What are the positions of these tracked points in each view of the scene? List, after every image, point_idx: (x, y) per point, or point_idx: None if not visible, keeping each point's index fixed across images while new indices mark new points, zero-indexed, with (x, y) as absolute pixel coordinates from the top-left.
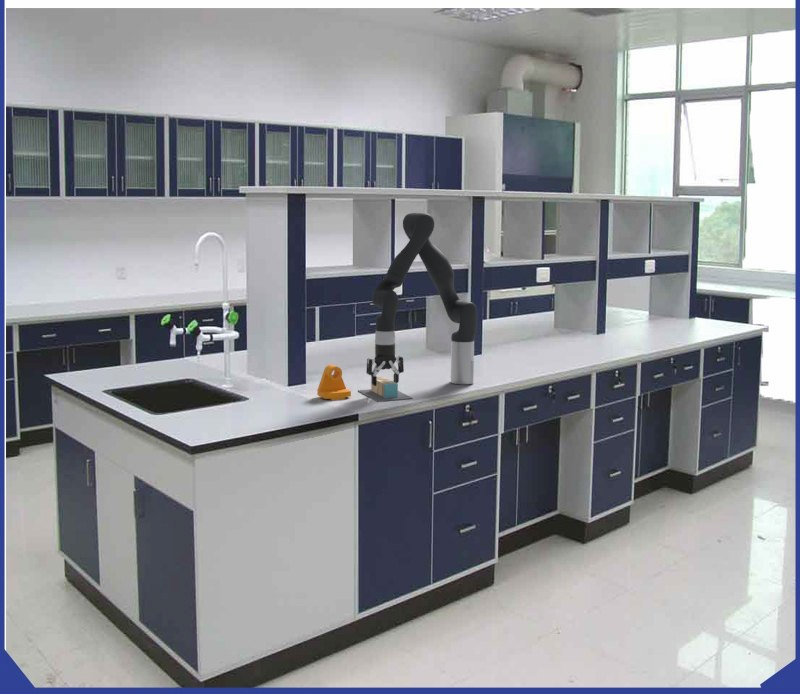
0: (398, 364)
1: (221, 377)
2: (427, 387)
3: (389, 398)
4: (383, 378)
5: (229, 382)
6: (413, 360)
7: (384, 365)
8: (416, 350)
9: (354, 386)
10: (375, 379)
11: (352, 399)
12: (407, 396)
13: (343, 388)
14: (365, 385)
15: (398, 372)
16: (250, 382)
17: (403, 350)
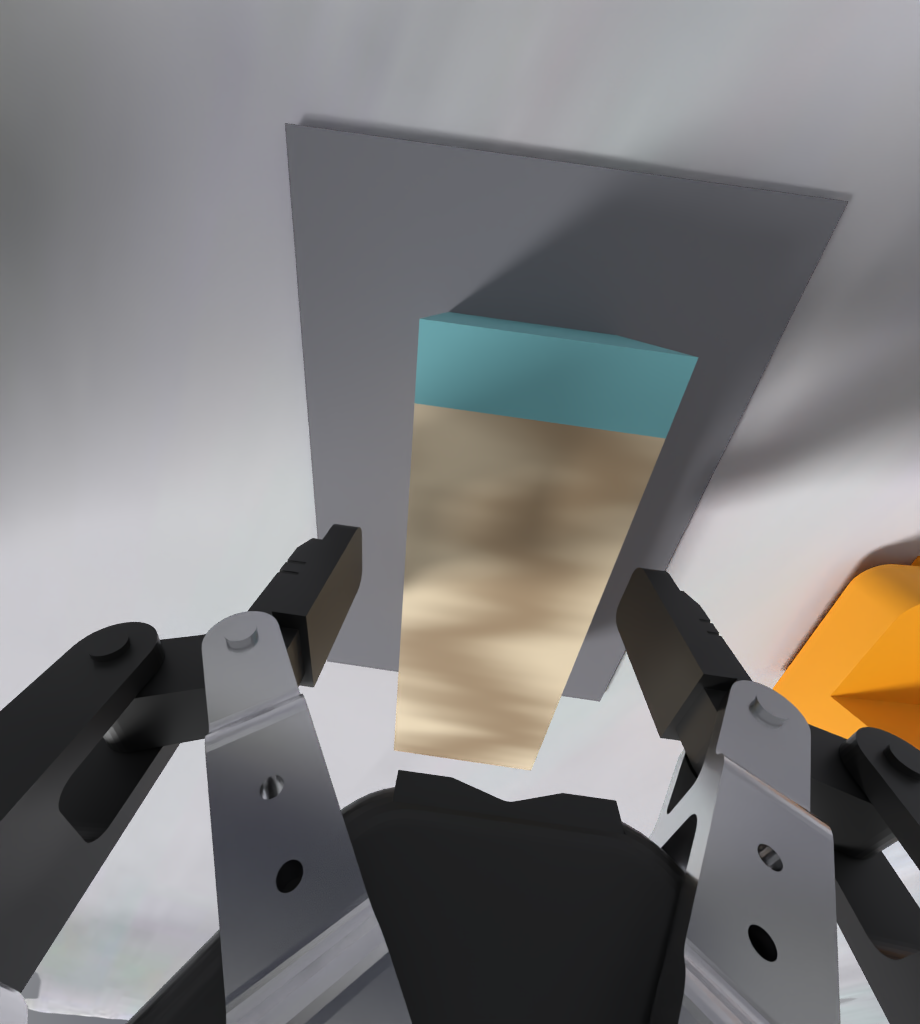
0: (69, 883)
1: (849, 1008)
2: (37, 567)
3: (593, 275)
4: (429, 708)
5: None
6: (79, 910)
7: (582, 957)
8: (57, 952)
9: (522, 779)
10: (696, 633)
11: (897, 503)
12: (322, 265)
13: (864, 703)
14: (448, 770)
15: (224, 637)
16: (856, 961)
17: (100, 962)
